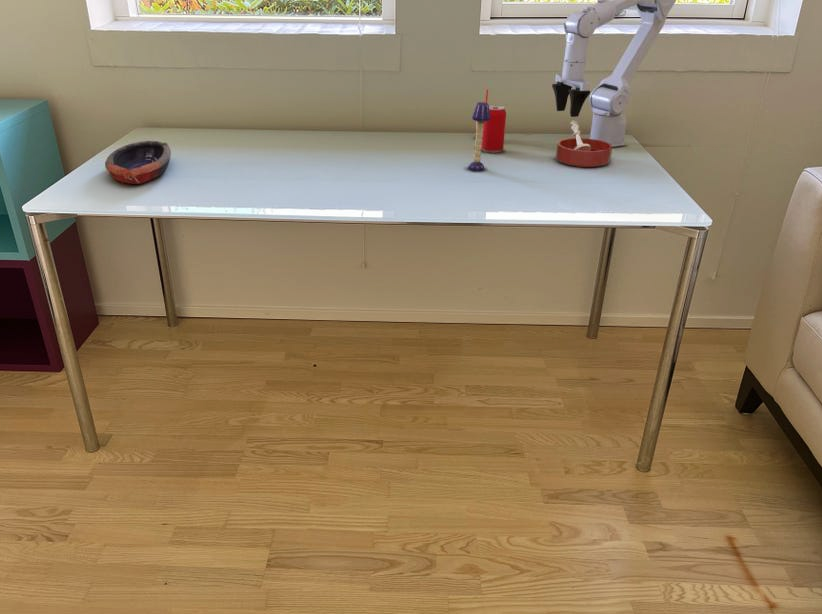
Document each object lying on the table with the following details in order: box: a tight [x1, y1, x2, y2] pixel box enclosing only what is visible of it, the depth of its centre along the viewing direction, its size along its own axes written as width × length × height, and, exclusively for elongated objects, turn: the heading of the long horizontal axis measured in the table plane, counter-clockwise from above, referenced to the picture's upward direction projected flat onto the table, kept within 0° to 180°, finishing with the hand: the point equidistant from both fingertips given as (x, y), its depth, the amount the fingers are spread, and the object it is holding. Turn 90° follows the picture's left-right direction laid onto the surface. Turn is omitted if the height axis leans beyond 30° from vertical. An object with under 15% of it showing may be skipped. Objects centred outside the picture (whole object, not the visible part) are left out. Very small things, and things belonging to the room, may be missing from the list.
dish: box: [104, 140, 172, 185], centre depth 186 cm, size 16×31×5 cm, turn 4°
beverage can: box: [481, 104, 507, 154], centre depth 203 cm, size 6×6×12 cm
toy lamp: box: [467, 101, 490, 172], centre depth 186 cm, size 5×5×17 cm
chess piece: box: [570, 119, 591, 151], centre depth 198 cm, size 5×5×10 cm
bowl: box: [555, 137, 613, 168], centre depth 196 cm, size 14×14×4 cm
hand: (567, 113), depth 201 cm, fingers open, 7 cm apart
